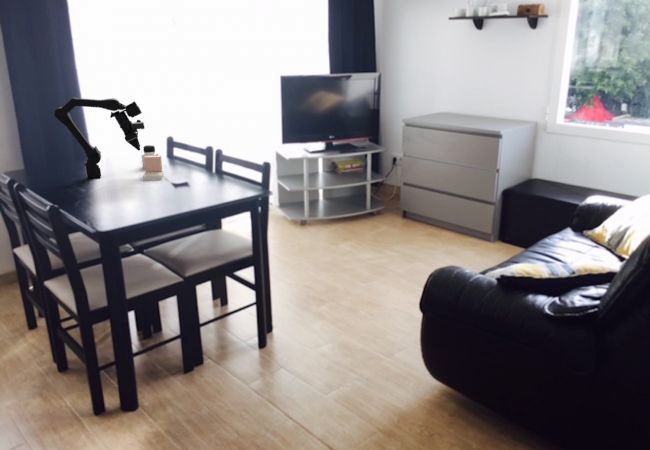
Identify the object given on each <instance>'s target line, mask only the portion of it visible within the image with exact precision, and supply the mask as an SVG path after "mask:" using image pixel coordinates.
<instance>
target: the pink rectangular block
mask: <svg viewBox="0 0 650 450" xmlns="http://www.w3.org/2000/svg"><path fill="white" fill-rule="evenodd" d="M144 161H145V168H144V170H145V172H161V171H162V172H163V173H164V171H163V163H162V162H163V161H162V155H159V154H158V156H145V157H144Z"/></svg>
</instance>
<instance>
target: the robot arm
mask: <svg viewBox="0 0 650 450" xmlns="http://www.w3.org/2000/svg"><path fill="white" fill-rule="evenodd" d="M75 107H85V108H86V107H87V108H99V109H104V110H107V111H111V112H110V116H109V117H110V118H111V119H112V118H114V119H115V120H116V122H117V124H118V126H119V128H120V129H121V130H122V132H123V134H124V140H125V142H127V143H128V144H129V145H131V146H132V147H133V148H134V149H136V150H137V151H141V148H140V147H141V144H140V141H139V138H138V137H139V136H138V135H139V131H138V130H144V129H145V122H144V121H141V119H137V120H136V122H135V121H134V122H132V120H130V118H135V117H138V116H139V115H141V114H142V110H141V108H140V107H139V105H138V104H137V102H136V101H133V102H131V103H129V104H127V105H125V104H124V103H121V102H120V101H119V99H117V98H113V97H112V98H105V99H95V98H80V97H79V98H78V97H72V98H70V99H69V101H67V103H65V104H64V105H63V106H60V107H57V109H55V111H54V117H55V118H56V119H57V120H58V121H59V122H60V123H61V124H63V125H64V126H65V127H66V128H67V130H68V131H69V132H70V134H71V135H72V136H73V137H74V138H75V140H76V142H77V143H78V144H79V145H80V146H81V148H82V149H83V150H84V153H85V156H86V158H87V159H86V161H85V163H84V169H85V173H86V176H85V177H86V179H87V180H95V179H101V177H102V172H101V168H100V166H99V163H100V162H101V159H102V154H101V153H102V152H101V151H100V150H99V149H98V147H97V146H96V145H95V146H92V144H91V143H90V142H89V141H88V140H87V137H85V135H84V134H83V133H82V131H81V130H80V129H79V128H78V126H77V125H76V124H75V122H74V121H73V118H72V116H71V114H70V112H71V111H72V110H74V108H75Z"/></svg>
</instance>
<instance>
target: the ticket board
mask: <svg viewBox="0 0 650 450" xmlns="http://www.w3.org/2000/svg"><path fill="white" fill-rule="evenodd" d="M162 171H163V170H162ZM162 171H161V172H146V171H145V173H144V174H143V181H152V180H153V181H155V180H162V179H164V177H165V175H164V171H163V172H162Z"/></svg>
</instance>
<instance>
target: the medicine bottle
mask: <svg viewBox="0 0 650 450" xmlns="http://www.w3.org/2000/svg"><path fill="white" fill-rule="evenodd" d="M142 149H143V154H142V155H141V163H142V168H143V169H145V161H144V157H145V156H158V155H159V153H158V152H156V148H155V145H153V144H152V145H151V144H149V145H144V146H143V148H142Z"/></svg>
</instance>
